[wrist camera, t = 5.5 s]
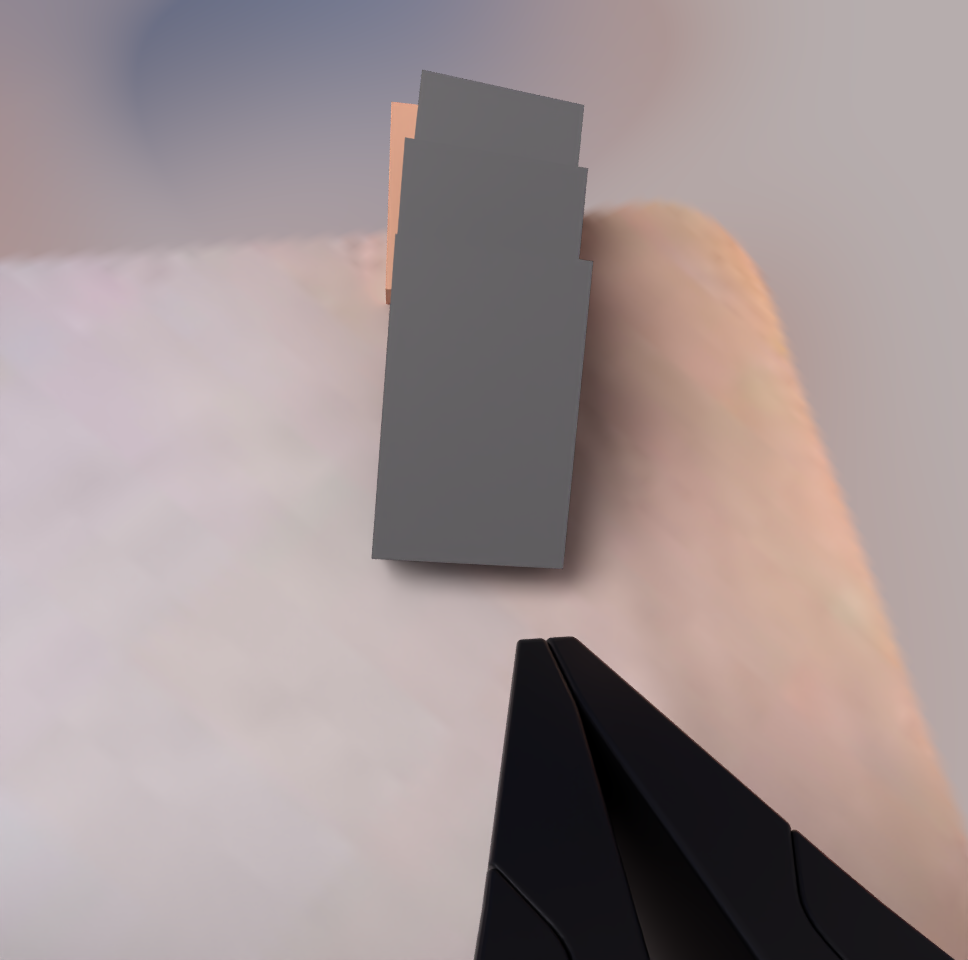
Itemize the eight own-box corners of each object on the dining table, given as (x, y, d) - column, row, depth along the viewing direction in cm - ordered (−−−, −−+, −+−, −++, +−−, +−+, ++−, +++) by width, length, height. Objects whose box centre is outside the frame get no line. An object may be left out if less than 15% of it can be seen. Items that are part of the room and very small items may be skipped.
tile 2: (559, 458, 15) (587, 168, 15) (381, 442, 15) (404, 137, 14) (548, 456, 17) (574, 188, 16) (383, 442, 16) (405, 160, 15)
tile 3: (558, 360, 16) (584, 105, 17) (391, 336, 16) (421, 69, 16) (548, 369, 18) (572, 130, 18) (392, 347, 17) (420, 98, 17)
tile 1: (563, 568, 14) (592, 261, 14) (371, 558, 14) (395, 233, 13) (551, 558, 16) (578, 275, 15) (374, 548, 15) (396, 250, 14)
